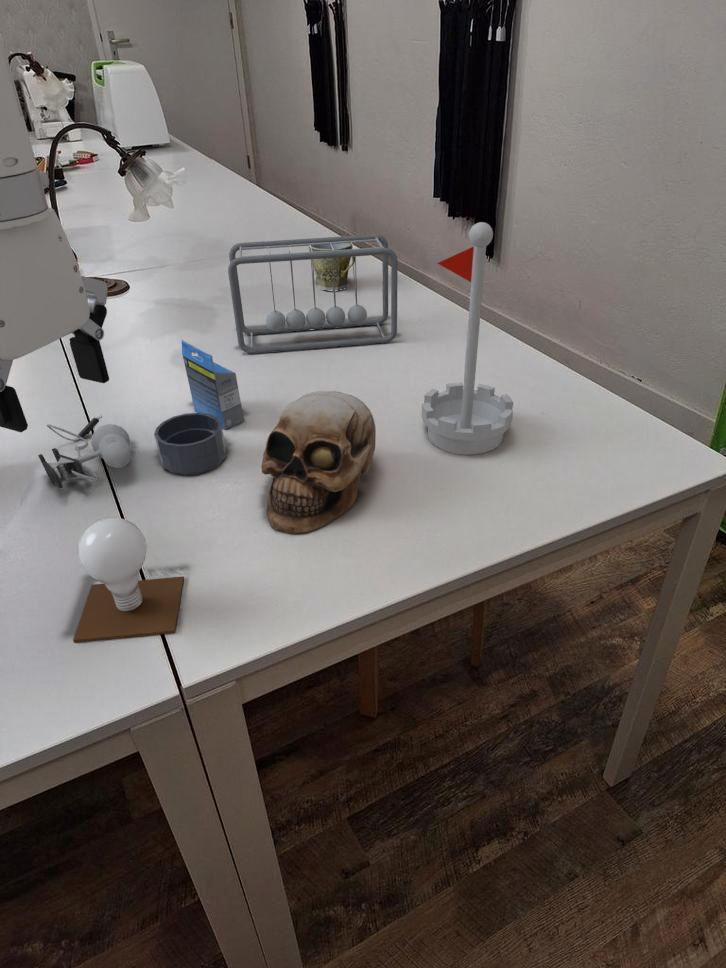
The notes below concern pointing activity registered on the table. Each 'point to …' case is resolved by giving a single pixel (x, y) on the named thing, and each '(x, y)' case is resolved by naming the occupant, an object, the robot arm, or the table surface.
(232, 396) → the label tape box
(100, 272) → the table surface
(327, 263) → the ceramic cup
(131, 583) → the lightbulb
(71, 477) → the clip-on lamp
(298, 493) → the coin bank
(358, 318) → the newton's cradle
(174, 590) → the mat
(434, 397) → the flag stand
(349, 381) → the table surface
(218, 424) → the basin
